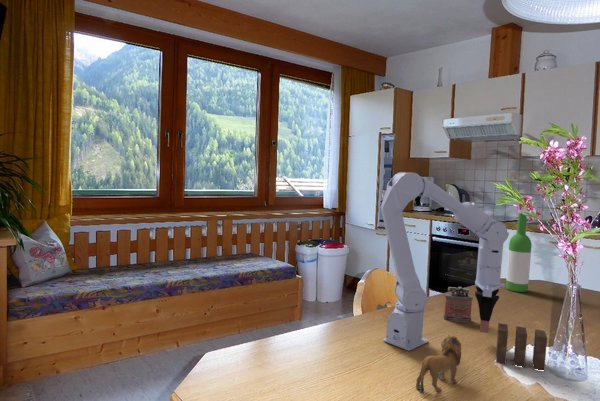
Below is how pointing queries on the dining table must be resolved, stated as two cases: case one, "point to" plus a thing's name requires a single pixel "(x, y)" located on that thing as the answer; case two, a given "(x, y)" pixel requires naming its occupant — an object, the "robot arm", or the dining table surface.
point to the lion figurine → (441, 363)
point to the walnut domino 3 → (539, 349)
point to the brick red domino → (484, 326)
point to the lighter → (458, 305)
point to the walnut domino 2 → (520, 346)
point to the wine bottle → (519, 258)
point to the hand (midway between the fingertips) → (485, 317)
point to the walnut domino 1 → (501, 343)
